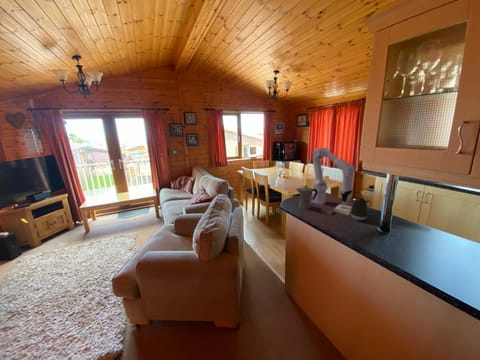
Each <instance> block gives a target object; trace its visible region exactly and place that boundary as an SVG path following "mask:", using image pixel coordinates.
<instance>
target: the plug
mask: <svg viewBox="0 0 480 360" xmlns="http://www.w3.org/2000/svg"><path fill="white" fill-rule="evenodd" d="M350 196H351V194H349V195H348V197H347V200H346V202H343V201H342V200H341V204H342V205H346V206H348V205H349V204H350V198H351V197H350Z"/></svg>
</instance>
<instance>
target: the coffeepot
mask: <svg viewBox="0 0 480 360" xmlns="http://www.w3.org/2000/svg"><path fill="white" fill-rule="evenodd" d="M295 190H297V192H298V194H299V197H300V198H299V201H298V208H299V209H301V210H302V209H303V210H309V209H311V207H312V206H311V205H312V204H311V200H312V199H315V197H316V195H317V193H318V191H317V190H316V189H314V188H311V187H308V186H307V185H304V186H303V187H299V188H298V187H297V188H296V189H295ZM313 191H315V195H314V198H312V193H313Z"/></svg>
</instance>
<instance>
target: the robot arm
mask: <svg viewBox="0 0 480 360" xmlns="http://www.w3.org/2000/svg"><path fill="white" fill-rule="evenodd" d="M312 155H313V156H312V163H313V170H314V176H315V181H314V182H313V189H316V190H317V191H318V193H317V195H316V197H315V199H312V198H314V195H315V191H312V192H311V200H310V203H314V204H319V205H324V204H325V203H327V201H325V196H326V192H327V190H328V185H327V183H326V181H325V180H324V176H323V175H324V174H323V170H322V169H323V168H322V163H321V162H322V160H323V158H328V159H329V160H330V161H331V162H333V163H334V165H335V166H336V167H337V168H338V169H340V170H341V172H342V185H341V190H340V192H339V193H340V195H341V202H342V201H343V202H346V200H347V197H348V195H349V194H350V195H351V194H352V193H353V191H354V189H353V185H352V184H353V175H354V173H355V171H356V168H355V166H354V165H353V164H350V163H349V162H346V161H345V160H344V158H338V157H337V156H336V155H334V154H333V153H332V152H331V151H330V149H328V148H327V147H321V148H315V149H314V150H313V152H312Z"/></svg>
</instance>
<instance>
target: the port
mask: <svg viewBox="0 0 480 360" xmlns="http://www.w3.org/2000/svg"><path fill="white" fill-rule="evenodd" d="M351 207H352V206H350V205H345V204H342V203H340V204H338V205H337V206H336V207H334V209H335V210H334V212H335V213H339V214H343V215H347V216H350V215H351V213H350V211H351Z"/></svg>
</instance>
